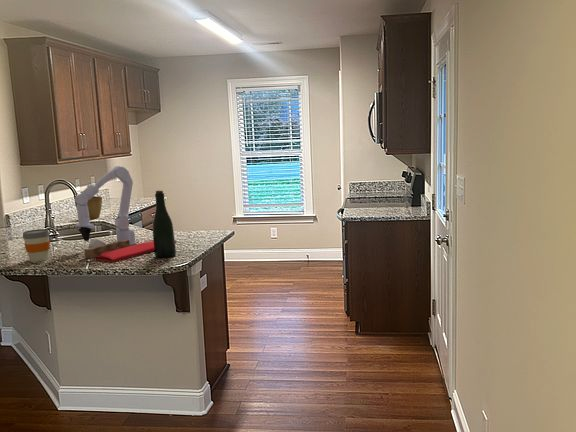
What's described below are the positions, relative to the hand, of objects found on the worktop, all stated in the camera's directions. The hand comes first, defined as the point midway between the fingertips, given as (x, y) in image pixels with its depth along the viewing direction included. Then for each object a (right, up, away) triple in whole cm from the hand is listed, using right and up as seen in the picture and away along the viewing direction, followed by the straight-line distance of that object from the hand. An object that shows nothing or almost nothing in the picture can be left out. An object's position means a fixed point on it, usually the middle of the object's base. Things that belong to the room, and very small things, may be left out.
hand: (86, 240), depth 304 cm
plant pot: (-38, +11, +122) cm, 128 cm away
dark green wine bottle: (+48, -7, -25) cm, 55 cm away
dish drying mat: (+31, -6, -11) cm, 33 cm away
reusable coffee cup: (-19, -9, -15) cm, 26 cm away
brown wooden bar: (+15, -6, -9) cm, 18 cm away
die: (+8, -6, -6) cm, 12 cm away
